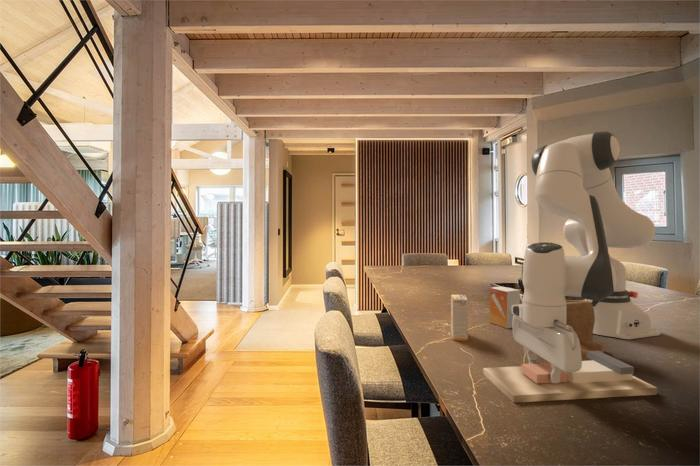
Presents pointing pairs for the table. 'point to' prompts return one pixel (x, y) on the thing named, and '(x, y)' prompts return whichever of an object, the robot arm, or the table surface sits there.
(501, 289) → the small box
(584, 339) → the brown suede boot
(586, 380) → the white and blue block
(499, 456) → the table surface
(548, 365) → the pink flat block
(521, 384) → the holder board
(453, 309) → the supplement box
